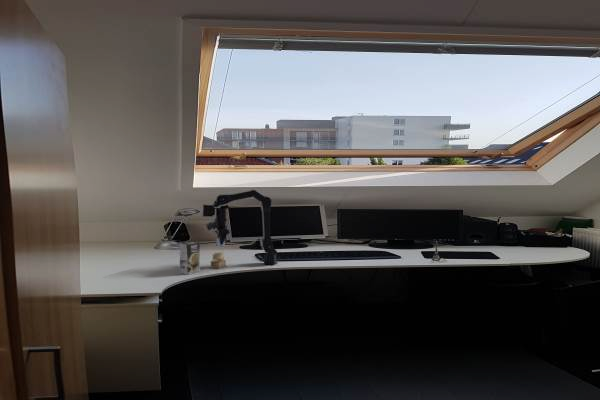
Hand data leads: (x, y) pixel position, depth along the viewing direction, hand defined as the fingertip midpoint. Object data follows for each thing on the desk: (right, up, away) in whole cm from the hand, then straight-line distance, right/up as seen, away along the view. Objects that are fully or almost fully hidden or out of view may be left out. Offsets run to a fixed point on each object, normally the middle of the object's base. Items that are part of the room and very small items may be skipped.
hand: (220, 244), depth 247 cm
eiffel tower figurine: (+129, -13, +22) cm, 131 cm away
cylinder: (0, -1, 0) cm, 1 cm away
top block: (-1, -9, 0) cm, 9 cm away
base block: (-1, -13, 0) cm, 13 cm away
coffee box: (-14, -14, -11) cm, 23 cm away
